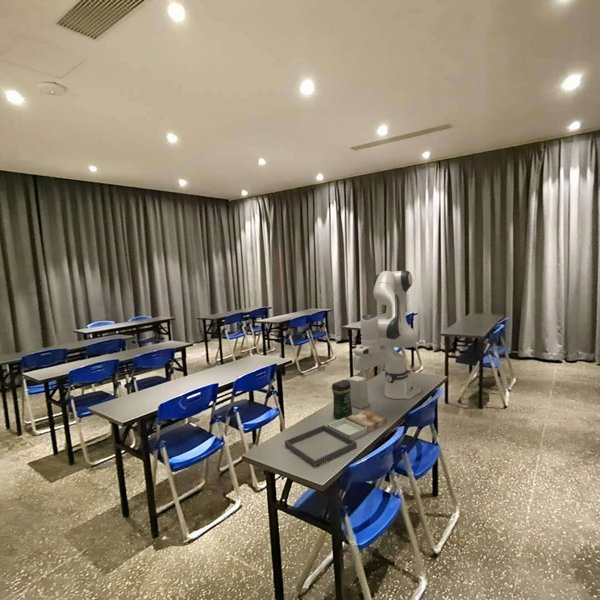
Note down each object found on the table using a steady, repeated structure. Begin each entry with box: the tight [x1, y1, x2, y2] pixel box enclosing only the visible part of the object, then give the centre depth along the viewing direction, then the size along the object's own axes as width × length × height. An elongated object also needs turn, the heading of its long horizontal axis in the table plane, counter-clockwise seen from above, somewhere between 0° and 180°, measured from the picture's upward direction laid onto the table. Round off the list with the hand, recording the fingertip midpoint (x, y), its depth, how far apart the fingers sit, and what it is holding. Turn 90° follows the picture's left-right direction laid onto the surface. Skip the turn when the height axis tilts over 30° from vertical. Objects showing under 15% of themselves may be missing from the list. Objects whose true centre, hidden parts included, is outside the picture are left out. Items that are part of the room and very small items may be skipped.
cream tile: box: [355, 414, 367, 422], centre depth 172 cm, size 4×4×2 cm
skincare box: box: [347, 375, 370, 410], centre depth 195 cm, size 8×7×16 cm
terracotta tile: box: [362, 410, 374, 420], centre depth 174 cm, size 4×4×2 cm
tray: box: [327, 418, 368, 441], centre depth 167 cm, size 11×15×3 cm
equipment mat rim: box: [284, 424, 358, 468], centre depth 156 cm, size 22×22×2 cm
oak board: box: [346, 409, 388, 434], centre depth 174 cm, size 13×14×3 cm
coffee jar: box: [331, 379, 353, 420], centre depth 183 cm, size 10×8×19 cm
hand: (372, 375), depth 177 cm, fingers open, 8 cm apart
